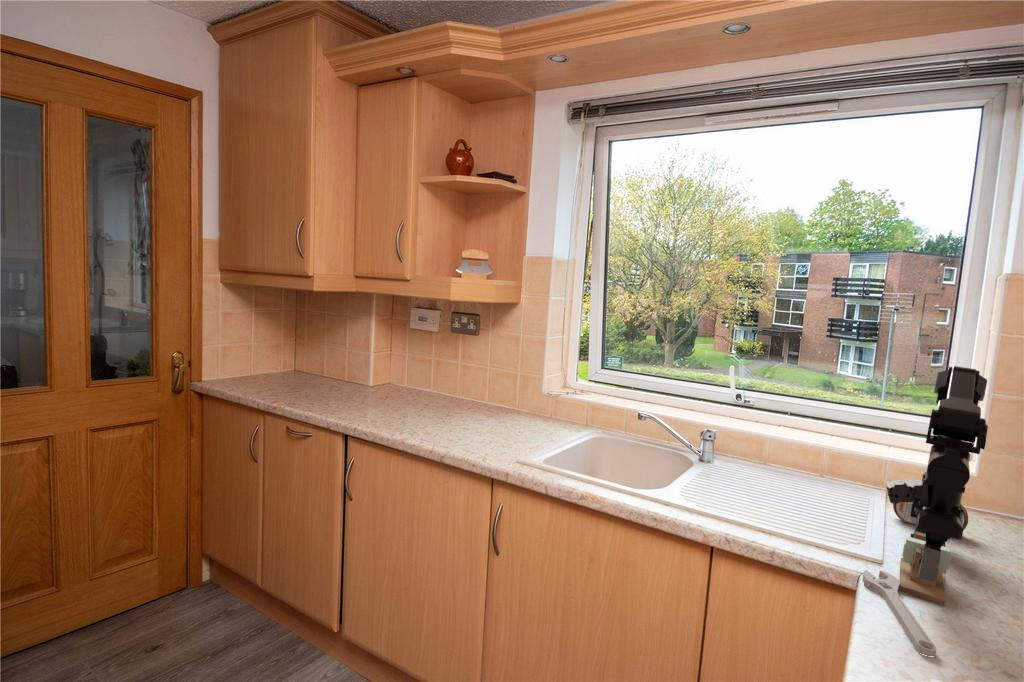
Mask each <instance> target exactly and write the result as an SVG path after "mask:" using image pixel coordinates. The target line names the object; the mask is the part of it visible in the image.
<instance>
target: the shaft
mask: <svg viewBox="0 0 1024 682" xmlns="http://www.w3.org/2000/svg"><path fill="white" fill-rule="evenodd" d="M940 554H941V548H940V547H937V546H933V545H930V544H926V543H924V548H923V549H922V551H921V563H920V568H919V578H922V579H925V580H928V581H931V582H935V578H936V574H937V569H938V564H939V559H940Z"/></svg>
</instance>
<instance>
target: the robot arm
mask: <svg viewBox="0 0 1024 682" xmlns="http://www.w3.org/2000/svg"><path fill="white" fill-rule="evenodd" d="M980 371H981V370H977V369H976V368H972V367H971V368H970V367H964V366H958V365H957V366H955V365H953V366H949V367H948V369H946V370H942V371H938V372H937V375H936V380H935V385H934V390H933V394H937V397H936V404H937V409H932V410H931V413H930V419H929V425H928V429H927V434H926V439H925V444H928V445H929V444H930V445H931V447H930V451H929V457H928V462H927V467H926V472H925V473H922V477H921V479H893V480H887V481H886V485H885V487H886V492H887V496H888V499H889V500H888V501H889V503H891V504H893V503H894V504H898V503H900V502H913V504H912V509H911V514H910V517H915V518H917V520H916V525H914V532H913V533H910V536H909V537H912V538H915V533H916V532H920V533H923V534H926V544H930V545H933V546H937V547H940V548H941V547H942V546H944V547H946V543H947V541H949V540H950V539H955V540H962V539H963V536H964V531H965V529H963V524H962V522H961V519H962V515H963V511H964V510H963V509H962V507H961V505H962V497H963V494H965V491H966V485H967V484H968V483H969V480H970V478H971V477H970V476H971V475H970V473H971V472H970V471H971V470H970V458H971V454H976V455H980V453H981V450H985V448H986V442H987V436H988V428H989V426H988V425H987V420H986V418H983V417H981V416H982V413H981V412H982V408H981V406H979V402H983V400H984V399H985V394H986V391H987V390H986V389H987V386H988V385H987V384H988V378H985V377H984V376H982V375H981V374H980ZM932 435H933V437H931V436H932ZM975 443H976V444H975ZM974 445H975V446H974ZM914 508H916V509H914Z"/></svg>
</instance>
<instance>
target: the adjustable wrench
mask: <svg viewBox="0 0 1024 682" xmlns="http://www.w3.org/2000/svg"><path fill="white" fill-rule="evenodd" d="M899 580H900V579H898V578H897V577H896V576H894V575H893V574H891V573H889V572H886V571H884V570H879V573H878V578H876V576H875V575H874V574H873V573H872V572H870V571H869V570H865V569H864V570H863V573H862V579H861V581H862V583H863V587H865V588H867V589H870V590H872V591H873V592H875V593H877V594H878V595H880V596H881V598H883V599H884V600H885V603H886V604H887V605H888V608H889V609H890V610H891V612H892V614H893V615H894V617H895V619H896V621H897V622H898V624H899V625H900V627H901V629H902V630H903V632H904V633H905V635H906V636H907V638H908V640H909V641H910V643H911V644H913V645H912V647H915V648H914V650H915V651H916V650H917V651H918V652H919V654H920V653H921V654H924V655H927V656H935V657H936V652H937V649H938V648H937V646H936V644H934V642H933V641H932V639H931V638H930V636H929V635H928V634H927V632H926V631H925V630H924V628H923V626H921V624H920V622H918V620H917V618H916V617H915V615H914V614H913V613H912V611H911V610H910V609H909V607H908V606H907V605H906V603H905V602H904V600H903V599H902V598H901V597H900V594H899V593H898V592H899V586H900V581H899ZM917 651H916V652H917ZM918 652H917V653H918ZM921 654H920V655H921Z"/></svg>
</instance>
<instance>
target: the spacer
mask: <svg viewBox="0 0 1024 682" xmlns="http://www.w3.org/2000/svg"><path fill="white" fill-rule="evenodd" d="M924 543H926V541H922V540H919V539H915V538H912V537H910V536H906V538H905V540H904V542H903V547H902V554H901V555H902V558H903V561H904V562H907V563H910V564H912V559H913V556H914V552H915V547H916V546H918V547H921V549H923V548H924ZM951 558H952V557H951V548H950V547H947V546H945V547H944V546H942V547H941V554H940V561H939V566H938V569H939V570H938V572H940V573H943V575H946V574H947V571H948V570H949V567H950V563H951Z"/></svg>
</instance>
